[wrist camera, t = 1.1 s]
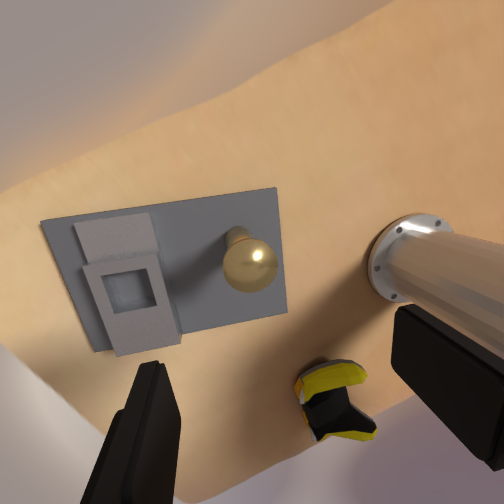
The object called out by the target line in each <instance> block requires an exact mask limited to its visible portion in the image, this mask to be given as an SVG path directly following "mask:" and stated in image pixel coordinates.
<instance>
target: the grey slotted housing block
mask: <svg viewBox="0 0 504 504" xmlns="http://www.w3.org/2000/svg"><path fill="white" fill-rule="evenodd" d="M73 224H74V226H75V229H76V232H77V234H78V237H79V240H80V242H81V245H82V248H83V250H84V253H85V256H86V258H87V261H88V262H87V263H86V264H84V265H83V266H82V268H83V271H84V273H85V276H86V278H87V281H88V284H89V286H90V289H91V291H92V294H93V296H94V299H95V302H96V304H97V307H98V309H99V312H100V315H101V317H102V320H103V322H104V325H105V328H106V330H107V333H108V335H109V338H110V341H111V343H112V346H113V348H114V351H115V354H116V356H117V357H119V356H124V355H129V354H133V353H138V352H143V351H148V350H152V349H157V348H162V347H167V346H171V345H176V344H181V338H182V333H183V330H182V326H181V322H180V318H179V314H178V310H177V307H176V303H175V299H174V295H173V291H172V287H171V284H170V280H169V276H168V272H167V268H166V264H165V261H164V257H163V253H162V249H161V245H160V241H159V238H158V234H157V230H156V226H155V222H154V218H153V215H152V211H145V212H138V213H132V214H125V215H118V216H111V217H104V218H97V219H90V220H83V221H78V222H75V223H73ZM144 268H146V269H147V272H148V275H149V279H150V282H151V286H152V289H153V293H154V296H155V297H149V298H144V299H138V300H133V301H128V302H122V301H121V298H120V295H119V292H118V289H117V286H116V283H115V280H114V277H113V274H115V273H121V272H127V271H133V270H138V269H144Z"/></svg>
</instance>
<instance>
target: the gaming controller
mask: <svg viewBox="0 0 504 504" xmlns="http://www.w3.org/2000/svg"><path fill="white" fill-rule="evenodd" d="M367 376H368V375H367V373H366V371H365V370H364V369H363V367H362V366H361V365H359V364H357V363H356V362H354V361H352V360H343V359H336V360H333V361H329V362H326V363H323V364H319V365H316V366H314V367H313V368H311V369H308V370H307V371H306V372H304V373H303V374H302V375H300V376H299V378H298V380H297V382H296V385H295V387H294V390H295V393H296V395H297V398H298V399H299V400H300V404H302V406H303V409H304V411H303V413H302V414H303V417H304V419H305V422H306V424H307V425H308V427H310V432H311V439H312V441H318V442H319V441H322V440H324V439H325V438H326V436H329V435H333V436H338V437H344V438H349V439H354V440H359V441H367V440H372V439H374V437H375V435H376V432H377V427H376V424H375V422H374V421H373V419H371V418H370V417H369V416H367V415H366V414H365V413H363V412H362V411H361V410H359V409H358V408H357V407H355V406H354V405H353V404H351V403H350V402H349V397H348V393H347V389H346V386H351V385H356V384H361V383H363V382H364V380H365V379H366V378H367Z"/></svg>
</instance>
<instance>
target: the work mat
mask: <svg viewBox="0 0 504 504" xmlns="http://www.w3.org/2000/svg"><path fill="white" fill-rule="evenodd" d="M145 211H152V215H153V218H154V222H155V226H156V230H157V234H158V238H159V241H160V245H161V249H162V253H163V257H164V261H165V264H166V268H167V272H168V276H169V280H170V284H171V287H172V291H173V295H174V299H175V303H176V307H177V310H178V314H179V318H180V322H181V326H182V330H183V333H182V334H187V333H191V332H196V331H201V330H206V329H211V328H216V327H221V326H225V325H230V324H235V323H240V322H245V321H250V320H254V319H259V318H264V317H269V316H274V315H279V314H284V313H288V310H287V299H286V287H285V276H284V264H283V253H282V241H281V230H280V218H279V207H278V195H277V188H275V187H274V188H266V189H259V190H252V191H245V192H238V193H231V194H224V195H217V196H210V197H203V198H196V199H189V200H182V201H175V202H168V203H161V204H153V205H146V206H139V207H132V208H125V209H118V210H111V211H104V212H97V213H90V214H83V215H76V216H69V217H62V218H55V219H48V220H43V221H40V223H41V225H42V228H43V230H44V232H45V235H46V237H47V239H48V242H49V244H50V247H51V249H52V251H53V254H54V256H55V259H56V261H57V263H58V266H59V268H60V270H61V273H62V275H63V278H64V280H65V282H66V285H67V287H68V290H69V292H70V294H71V297H72V299H73V301H74V304H75V306H76V309H77V311H78V313H79V316H80V318H81V321H82V323H83V325H84V328H85V330H86V332H87V335H88V337H89V340H90V342H91V344H92V347H93V349H94V352H99V351H104V350H109V349H114V348H113V346H112V343H111V341H110V338H109V335H108V333H107V330H106V328H105V325H104V322H103V320H102V317H101V315H100V312H99V309H98V307H97V304H96V302H95V299H94V296H93V294H92V291H91V289H90V286H89V284H88V281H87V278H86V276H85V273H84V271H83V268H82V266H83V265H84V264H86V263H87V262H88V261H87V258H86V256H85V253H84V250H83V248H82V245H81V242H80V240H79V237H78V234H77V232H76V229H75V226H74V224H73V223H75V222H78V221H83V220H90V219H97V218H104V217H111V216H118V215H125V214H132V213H138V212H145ZM234 226H243V227H245V228H247V229H248V230H249V232H250V233H251V235H252V236H253V238H256V239H259V240H262V241H264V242H265V243H267V244H268V245H269V246H270V247H271V248H272V250H273V251H274V252H275V254H276V256H277V259H278V271H277V274H276V276H275V278H274V280H273V281H272V282H271V284H270V285H268V286H267V287H266V288H264V289H262V290H260V291H258V292H253V293H244V292H240V291H237V290H236V289H234V288H232V287H231V286H230V285H229V284H228V282H227V281H226V279H225V277H224V273H223V266H222V264H223V258H224V255H225V253H226V251H227V246H226V242H225V236H226V233H227V232H228V230H229V229H231V228H232V227H234ZM113 277H114V280H115V283H116V286H117V289H118V292H119V295H120V298H121V301H122V302H128V301H133V300H138V299H144V298H149V297H155V296H154V293H153V289H152V286H151V282H150V279H149V275H148V272H147V269H146V268H144V269H138V270H133V271H127V272H121V273H115V274H113Z"/></svg>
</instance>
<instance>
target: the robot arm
mask: <svg viewBox="0 0 504 504" xmlns="http://www.w3.org/2000/svg"><path fill="white" fill-rule="evenodd" d="M368 277H369V280H370V283H371V285H372V287H373V288H374V290H375V291H376V292H377V293H378V294H380V295H381V296H383V297H384V298H385V299H387V300H390V301H392V302H398V303H406V302H413V303H415V304H409V305H405V306H400V307H399V308H398V309H397V311H396V312H395V318H394V330H393V342H392V354H391V365H392V368H393V369H394V371H395V372H396V373H397V374H398V375H399V376H400V377H401V378H402V380H403V381H404V382H405V383H406V384H407V385H408V386H409V387H410V388H411V389H412V390H413V391H414V392H415V393H416V394H417V395H418V396H419V397H420V399H421V400H422V401H423V402H424V403H425V404H426V405H427V406H428V407H429V408H430V409H431V410H432V411H433V412H434V413H435V414H436V416H438V418H439V419H440V420H441V421H442V422H443V423H444V424H445V425H446V426H447V427H448V428H449V429H450V430H451V431H452V432H453V433H454V435H455V436H456V437H457V438H458V439H459V440H460V441H461V442H462V443H463V444H464V445H465V446H466V447H467V448H468V449H469V451H470V452H471V453H472V454H473V455H474V456H475V457H477V458H478V459H480V460H482V461H484V462H485V463H486V464H487V465H488V466H489V467H490V468H491V469H492V470H493V471H497V470H501V469H504V245H502V244H498V243H494V242H490V241H486V240H481V239H477V238H473V237H469V236H465V235H461V234H456V233H454V231H453V229H452V228H451V226H450V225H449V223H448V222H446V221H445V220H444V219H443V218H440V217H438V216H436V215H431V214H425V213H417V214H411V215H408V216H405V217H402V218H400V219H399V220H397V221H395V222H394V223H392V224H391V225H390V226H389V227H387V228H386V229H385V230H384V232H383V233H382V234H381V235H380V236H379V238H378V239H377V241H376V242H375V244H374V246H373V248H372V250H371V253H370V256H369V260H368ZM180 431H181V416H180V412H179V409H178V406H177V402H176V399H175V396H174V393H173V390H172V386H171V383H170V380H169V377H168V374H167V370H166V367H165V364H164V363H161V364H160V363H159V361H158V360H156V361H151V362H147V363H142V364H140V366H139V368H138V371H137V374H136V377H135V380H134V382H133V385H132V388H131V391H130V393H129V396H128V399H127V402H126V404H125V407H124V409H122V410H118V411H117V413H116V414H115V416H114V418H113V420H112V423H111V425H110V428H109V430H108V433H107V435H106V438H105V441H104V443H103V446H102V448H101V451H100V453H99V456H98V459H97V461H96V464H95V466H94V469H93V471H92V474H91V476H90V479H89V482H88V484H87V487H86V489H85V492H84V495H83V497H82V499H81V502H80V504H173V495H174V486H175V477H176V468H177V459H178V450H179V440H180Z"/></svg>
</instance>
